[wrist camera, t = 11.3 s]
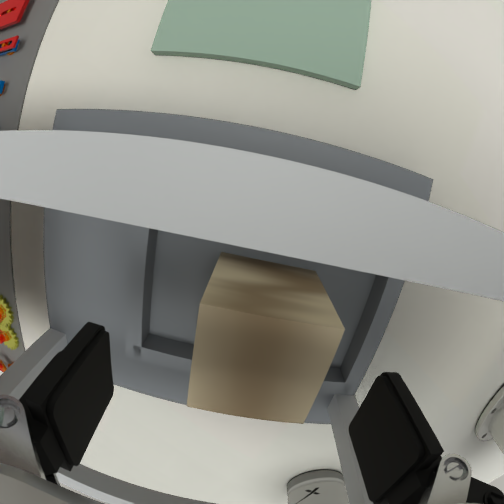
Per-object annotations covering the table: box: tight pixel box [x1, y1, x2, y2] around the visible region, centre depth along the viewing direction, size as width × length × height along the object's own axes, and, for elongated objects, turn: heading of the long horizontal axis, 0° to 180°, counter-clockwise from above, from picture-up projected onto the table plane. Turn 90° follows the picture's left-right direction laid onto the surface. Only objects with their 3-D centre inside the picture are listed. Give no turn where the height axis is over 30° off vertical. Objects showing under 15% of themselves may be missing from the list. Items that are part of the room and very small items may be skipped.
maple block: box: [187, 252, 345, 424], centre depth 13 cm, size 5×5×6 cm
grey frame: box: [0, 109, 504, 504], centre depth 12 cm, size 22×18×12 cm
